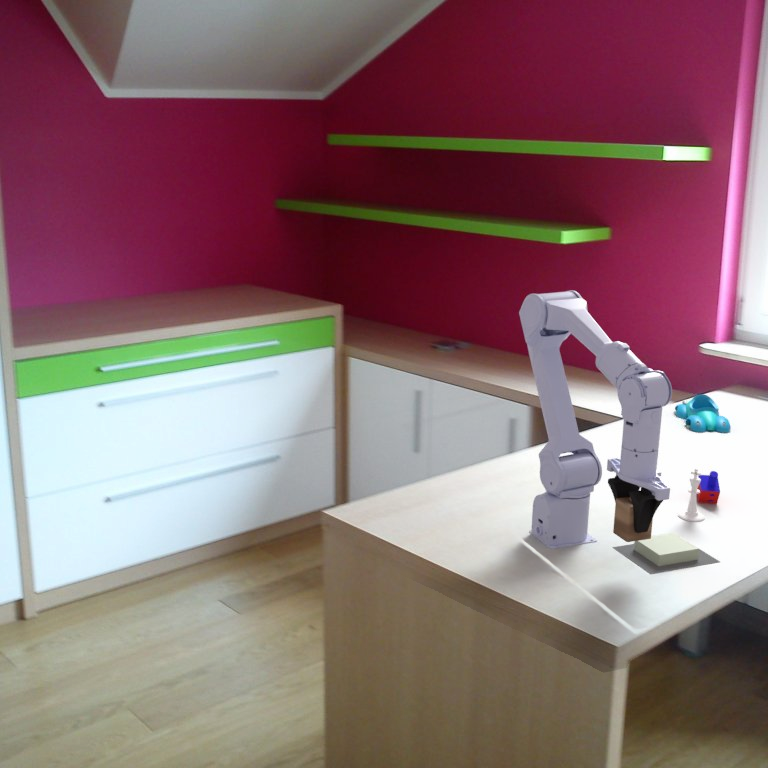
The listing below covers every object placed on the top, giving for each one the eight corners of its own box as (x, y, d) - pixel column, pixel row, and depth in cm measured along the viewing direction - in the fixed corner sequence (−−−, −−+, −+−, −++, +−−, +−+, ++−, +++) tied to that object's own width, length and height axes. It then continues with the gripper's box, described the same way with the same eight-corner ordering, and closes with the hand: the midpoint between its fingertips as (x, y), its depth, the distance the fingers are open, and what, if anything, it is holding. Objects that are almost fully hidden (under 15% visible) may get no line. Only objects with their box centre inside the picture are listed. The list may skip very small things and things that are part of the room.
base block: (658, 566, 164) (659, 555, 164) (633, 549, 171) (634, 538, 170) (698, 559, 167) (699, 548, 167) (672, 543, 173) (673, 532, 173)
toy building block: (696, 508, 195) (703, 480, 190) (694, 492, 198) (701, 464, 193) (715, 509, 195) (722, 482, 189) (712, 493, 198) (720, 465, 192)
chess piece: (683, 512, 189) (688, 462, 186) (709, 518, 186) (714, 468, 183) (673, 519, 185) (678, 469, 183) (698, 526, 182) (704, 475, 180)
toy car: (713, 413, 255) (716, 388, 253) (734, 434, 238) (737, 408, 236) (671, 412, 255) (673, 387, 254) (689, 433, 238) (692, 406, 236)
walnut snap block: (627, 542, 158) (630, 504, 157) (613, 532, 162) (616, 495, 160) (650, 538, 160) (654, 501, 158) (636, 529, 163) (639, 492, 162)
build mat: (650, 576, 162) (650, 573, 161) (612, 549, 172) (612, 547, 171) (720, 564, 166) (720, 561, 166) (679, 539, 176) (679, 536, 176)
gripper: (689, 458, 152) (681, 540, 155) (635, 431, 165) (628, 507, 168) (650, 463, 149) (643, 546, 153) (598, 435, 162) (592, 511, 166)
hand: (632, 526), depth 161 cm, fingers closed on walnut snap block, 4 cm apart
